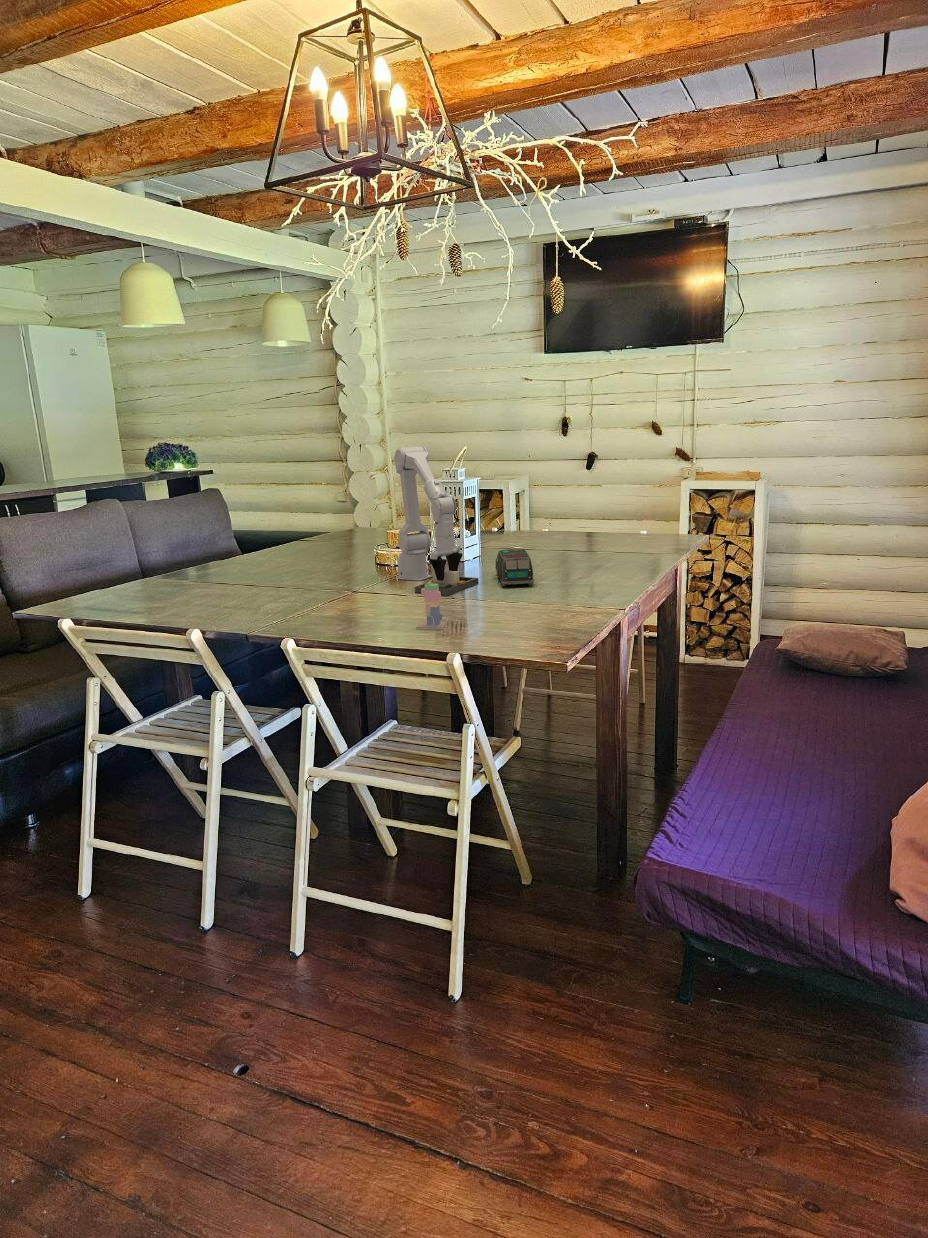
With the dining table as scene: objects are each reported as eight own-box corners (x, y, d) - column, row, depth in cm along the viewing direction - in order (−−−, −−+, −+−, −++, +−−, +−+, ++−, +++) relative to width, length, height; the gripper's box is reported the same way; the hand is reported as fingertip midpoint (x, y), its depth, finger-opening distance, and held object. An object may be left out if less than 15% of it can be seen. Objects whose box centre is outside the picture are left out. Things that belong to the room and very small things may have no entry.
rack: (415, 593, 265) (414, 584, 264) (447, 581, 281) (447, 573, 280) (447, 596, 259) (446, 587, 258) (478, 583, 274) (478, 575, 274)
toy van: (525, 573, 290) (525, 544, 288) (535, 587, 266) (534, 556, 264) (495, 574, 290) (493, 545, 287) (501, 589, 266) (500, 558, 263)
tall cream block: (433, 586, 271) (432, 571, 269) (438, 585, 273) (437, 569, 272) (454, 588, 266) (453, 573, 265) (459, 586, 269) (458, 571, 268)
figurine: (446, 624, 225) (444, 579, 222) (441, 629, 220) (439, 584, 217) (421, 623, 227) (419, 579, 224) (416, 629, 221) (413, 584, 219)
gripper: (443, 539, 258) (445, 583, 261) (467, 532, 269) (469, 574, 273) (423, 538, 261) (426, 581, 264) (449, 531, 273) (450, 573, 276)
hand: (446, 578), depth 269 cm, fingers open, 7 cm apart
